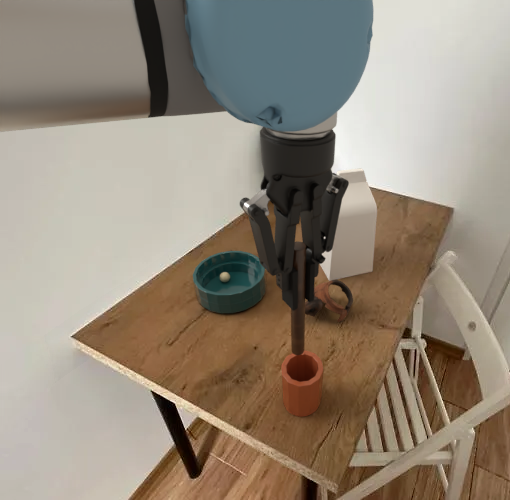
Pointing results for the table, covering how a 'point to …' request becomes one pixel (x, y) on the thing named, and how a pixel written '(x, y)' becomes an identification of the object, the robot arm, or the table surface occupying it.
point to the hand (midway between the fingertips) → (298, 299)
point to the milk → (353, 230)
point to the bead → (224, 277)
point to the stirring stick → (299, 301)
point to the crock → (302, 383)
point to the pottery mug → (328, 300)
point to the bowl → (230, 281)
